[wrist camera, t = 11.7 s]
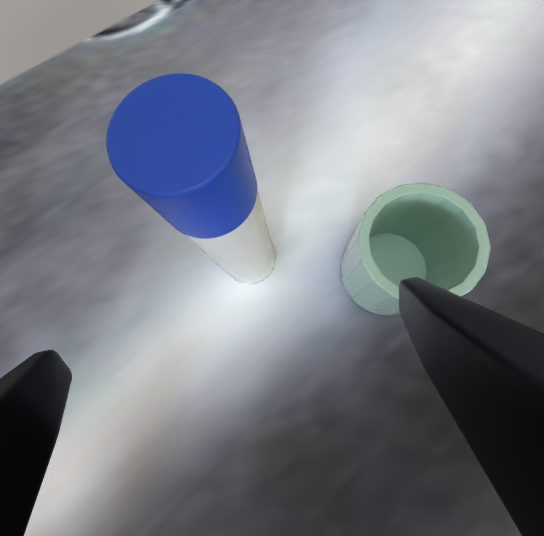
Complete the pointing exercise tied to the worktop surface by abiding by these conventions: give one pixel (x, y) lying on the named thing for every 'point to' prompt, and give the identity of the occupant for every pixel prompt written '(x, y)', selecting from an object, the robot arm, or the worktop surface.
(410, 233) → the glass
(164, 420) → the worktop surface
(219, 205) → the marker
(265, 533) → the worktop surface
